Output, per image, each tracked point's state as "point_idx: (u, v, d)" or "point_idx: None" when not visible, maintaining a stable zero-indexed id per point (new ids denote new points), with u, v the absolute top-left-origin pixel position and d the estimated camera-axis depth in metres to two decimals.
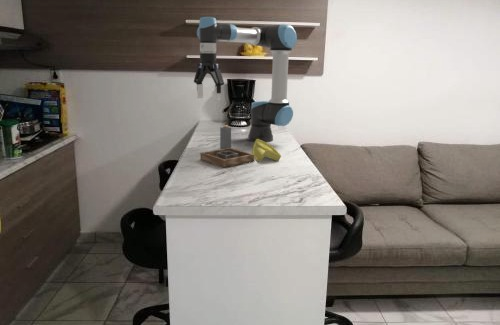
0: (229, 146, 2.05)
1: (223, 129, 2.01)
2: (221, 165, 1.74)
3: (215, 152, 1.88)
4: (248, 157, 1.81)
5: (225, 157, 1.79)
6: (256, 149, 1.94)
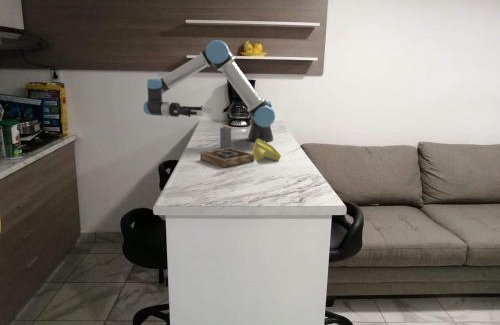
0: (229, 146, 2.05)
1: (223, 129, 2.01)
2: (221, 165, 1.74)
3: (215, 152, 1.88)
4: (248, 157, 1.81)
5: (225, 157, 1.79)
6: (256, 149, 1.94)
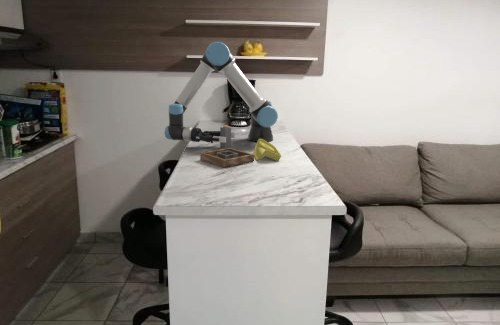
0: (229, 146, 2.05)
1: (223, 129, 2.01)
2: (221, 165, 1.74)
3: (215, 152, 1.88)
4: (248, 157, 1.81)
5: (225, 157, 1.79)
6: (257, 149, 1.95)
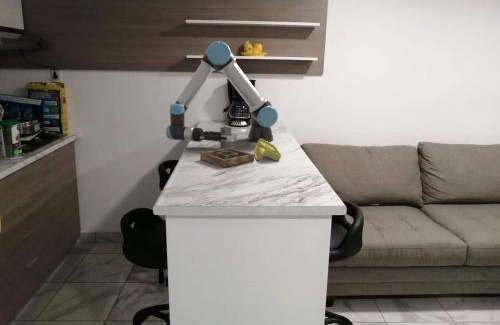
0: (229, 146, 2.05)
1: (223, 129, 2.01)
2: (221, 165, 1.74)
3: (215, 152, 1.88)
4: (248, 157, 1.81)
5: (225, 157, 1.79)
6: (258, 149, 1.95)
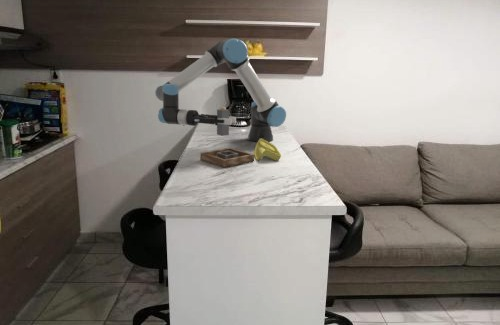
0: (227, 130, 1.85)
1: (220, 111, 1.82)
2: (221, 165, 1.74)
3: (215, 152, 1.88)
4: (248, 157, 1.81)
5: (225, 157, 1.79)
6: (258, 148, 1.95)
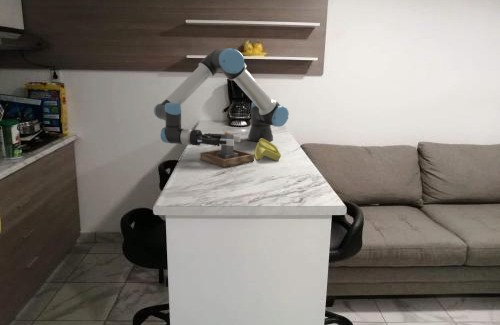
0: None
1: (224, 136, 1.79)
2: (221, 165, 1.74)
3: (215, 152, 1.88)
4: (248, 157, 1.81)
5: (225, 157, 1.79)
6: (258, 148, 1.96)
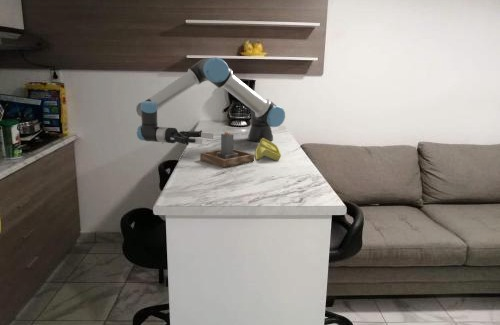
0: None
1: (224, 136, 1.79)
2: (221, 165, 1.74)
3: (215, 152, 1.88)
4: (248, 157, 1.81)
5: (225, 157, 1.79)
6: (259, 148, 1.96)
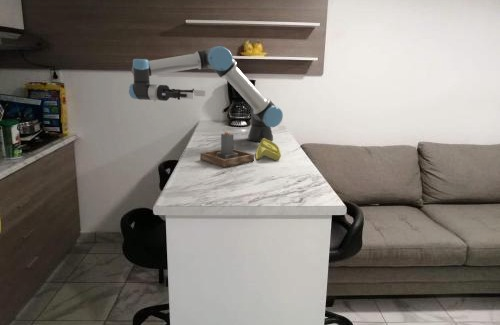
0: None
1: (224, 136, 1.79)
2: (221, 165, 1.74)
3: (215, 152, 1.88)
4: (248, 157, 1.81)
5: (225, 157, 1.79)
6: (260, 148, 1.97)
